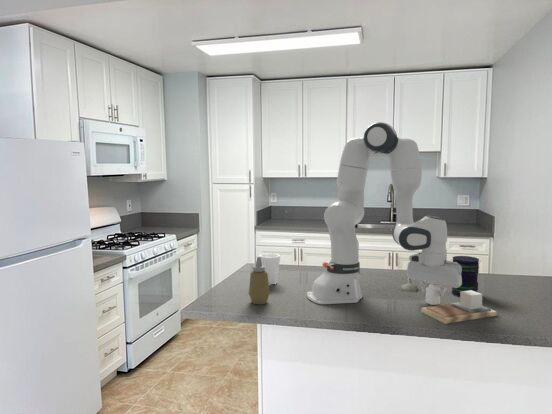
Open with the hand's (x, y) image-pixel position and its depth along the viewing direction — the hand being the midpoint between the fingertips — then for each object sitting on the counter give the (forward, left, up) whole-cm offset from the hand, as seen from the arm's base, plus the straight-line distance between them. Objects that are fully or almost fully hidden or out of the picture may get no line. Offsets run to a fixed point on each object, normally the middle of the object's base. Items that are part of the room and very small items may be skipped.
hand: (432, 294), depth 153 cm
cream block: (+7, -12, -2) cm, 14 cm away
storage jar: (+20, +5, -4) cm, 21 cm away
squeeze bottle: (-62, +24, -4) cm, 67 cm away
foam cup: (-50, +48, -4) cm, 69 cm away
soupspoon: (+8, +24, -4) cm, 26 cm away
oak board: (+1, -12, -4) cm, 13 cm away
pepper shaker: (0, 0, -4) cm, 4 cm away
